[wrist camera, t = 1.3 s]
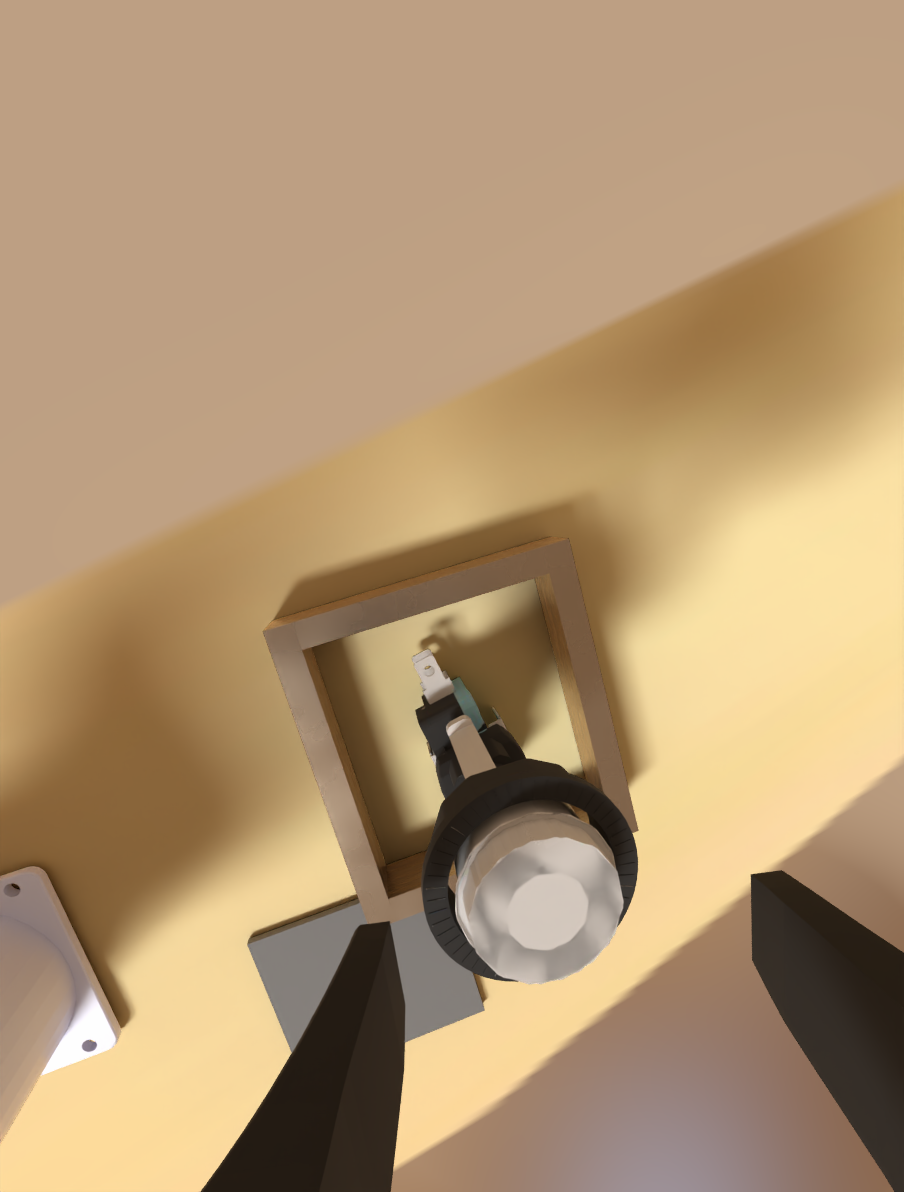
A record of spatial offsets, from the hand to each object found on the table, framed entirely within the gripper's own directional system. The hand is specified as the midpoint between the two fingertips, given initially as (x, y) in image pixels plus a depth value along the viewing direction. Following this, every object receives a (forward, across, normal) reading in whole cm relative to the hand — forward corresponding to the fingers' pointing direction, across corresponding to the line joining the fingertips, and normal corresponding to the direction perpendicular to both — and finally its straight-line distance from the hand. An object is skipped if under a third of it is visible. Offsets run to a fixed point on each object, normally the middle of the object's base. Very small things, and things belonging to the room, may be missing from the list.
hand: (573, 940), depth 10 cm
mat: (+10, +7, +10) cm, 16 cm away
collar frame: (+11, +2, 0) cm, 11 cm away
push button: (+11, +2, 0) cm, 11 cm away
